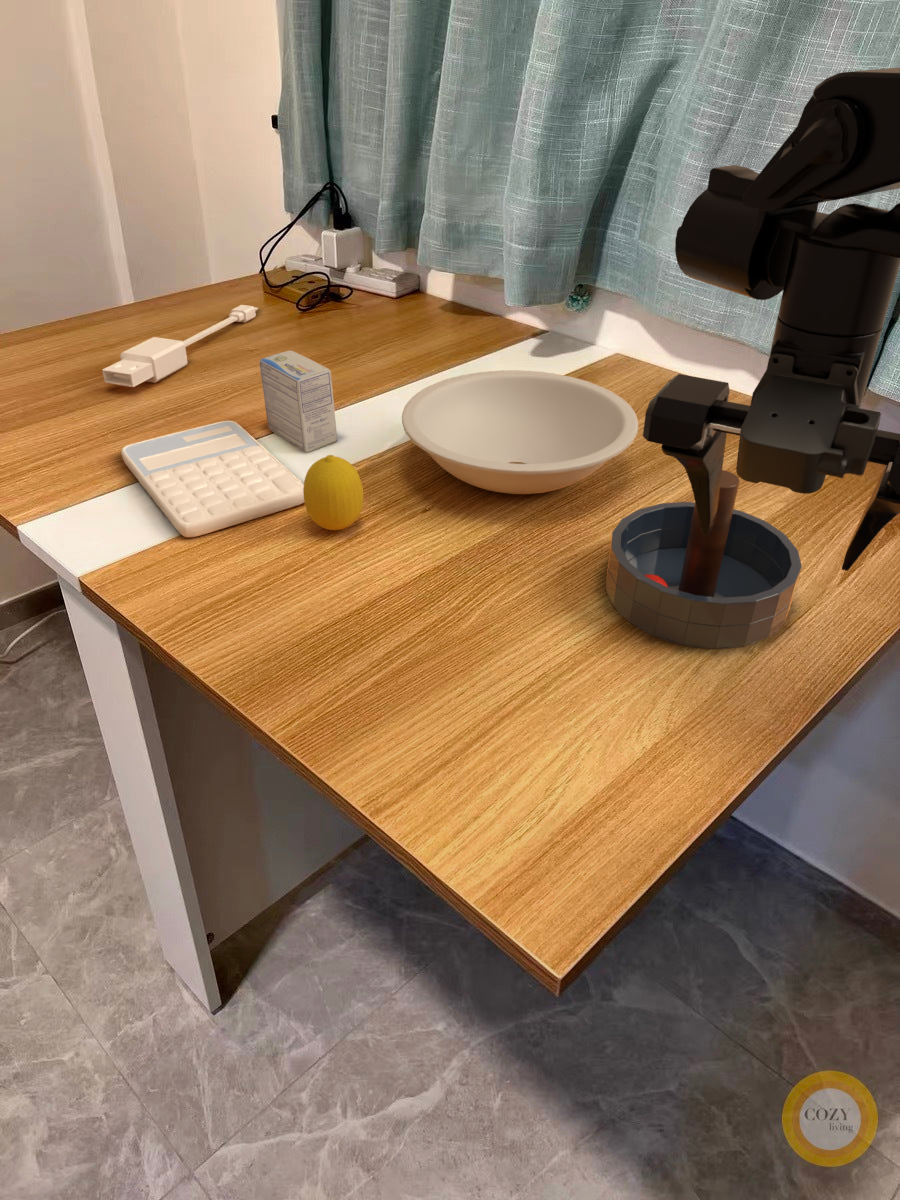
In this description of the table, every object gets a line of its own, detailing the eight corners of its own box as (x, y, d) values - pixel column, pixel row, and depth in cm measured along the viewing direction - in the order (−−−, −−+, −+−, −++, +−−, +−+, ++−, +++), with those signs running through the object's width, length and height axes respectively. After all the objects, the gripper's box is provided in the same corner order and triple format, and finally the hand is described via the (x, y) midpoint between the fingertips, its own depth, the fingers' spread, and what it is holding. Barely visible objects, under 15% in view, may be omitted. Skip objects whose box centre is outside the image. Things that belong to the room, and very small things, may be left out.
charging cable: (269, 321, 134) (266, 298, 133) (137, 394, 109) (132, 367, 107) (240, 317, 136) (237, 295, 134) (103, 388, 111) (97, 362, 109)
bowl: (802, 577, 79) (816, 529, 76) (763, 676, 68) (778, 625, 65) (638, 533, 85) (645, 487, 82) (578, 618, 74) (584, 568, 71)
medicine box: (338, 442, 100) (332, 368, 95) (305, 454, 97) (297, 379, 92) (299, 419, 105) (292, 348, 99) (267, 430, 102) (257, 358, 97)
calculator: (185, 543, 83) (181, 525, 82) (119, 459, 96) (116, 444, 95) (313, 503, 89) (311, 486, 88) (235, 430, 102) (232, 414, 101)
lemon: (338, 553, 82) (331, 476, 77) (295, 534, 84) (286, 458, 79) (377, 528, 85) (373, 453, 80) (335, 510, 88) (329, 436, 83)
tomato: (660, 572, 71) (632, 598, 71) (681, 597, 72) (654, 622, 72) (645, 562, 74) (619, 587, 74) (666, 586, 75) (640, 611, 75)
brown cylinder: (718, 587, 76) (743, 474, 70) (708, 606, 74) (734, 490, 68) (684, 578, 77) (706, 465, 71) (674, 596, 75) (695, 481, 69)
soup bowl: (573, 412, 106) (578, 359, 102) (672, 509, 88) (683, 449, 84) (379, 439, 100) (376, 383, 96) (442, 549, 82) (442, 487, 78)
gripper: (627, 336, 49) (601, 571, 58) (1005, 399, 42) (908, 657, 51) (686, 285, 57) (655, 498, 66) (1013, 330, 50) (928, 563, 59)
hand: (774, 549), depth 60 cm, fingers open, 9 cm apart
